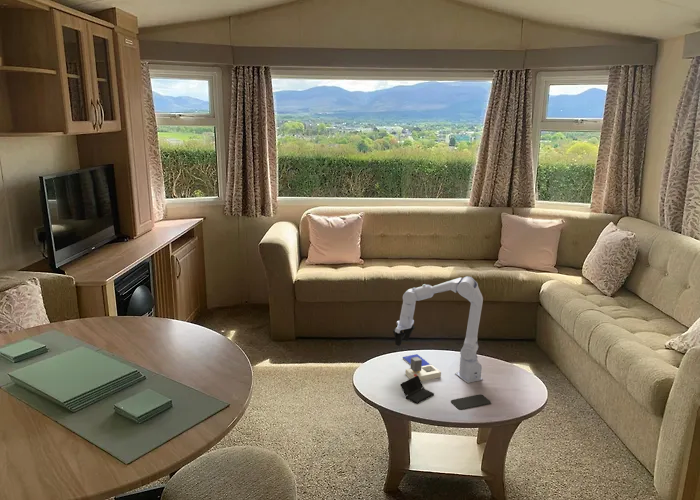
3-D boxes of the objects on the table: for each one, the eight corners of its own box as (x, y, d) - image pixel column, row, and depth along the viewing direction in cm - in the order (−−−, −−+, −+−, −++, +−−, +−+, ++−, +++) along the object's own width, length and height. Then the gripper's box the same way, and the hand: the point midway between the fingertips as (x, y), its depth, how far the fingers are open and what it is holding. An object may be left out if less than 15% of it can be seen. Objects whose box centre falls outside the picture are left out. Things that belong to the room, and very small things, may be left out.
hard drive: (402, 356, 253) (416, 368, 242) (417, 353, 256) (431, 364, 245) (402, 359, 253) (416, 371, 242) (417, 356, 257) (431, 368, 246)
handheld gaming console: (422, 402, 212) (411, 378, 215) (408, 408, 216) (397, 384, 219) (436, 394, 221) (425, 371, 224) (422, 400, 225) (412, 377, 228)
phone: (449, 400, 216) (481, 393, 222) (449, 402, 217) (481, 395, 222) (459, 409, 210) (492, 402, 215) (459, 411, 210) (492, 404, 215)
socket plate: (440, 377, 236) (441, 371, 235) (414, 382, 231) (415, 376, 230) (430, 369, 243) (431, 363, 242) (405, 374, 238) (405, 368, 237)
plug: (421, 372, 234) (421, 359, 233) (414, 373, 233) (414, 361, 232) (417, 369, 237) (417, 356, 236) (410, 370, 236) (410, 357, 235)
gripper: (406, 307, 250) (401, 334, 253) (391, 316, 238) (386, 344, 242) (420, 313, 246) (414, 339, 250) (405, 321, 234) (400, 350, 238)
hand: (401, 342), depth 246 cm, fingers open, 7 cm apart
